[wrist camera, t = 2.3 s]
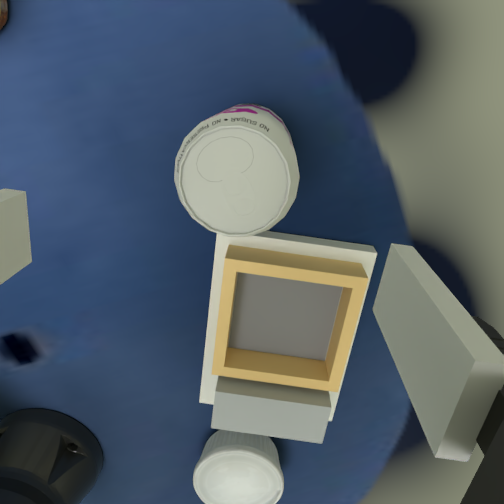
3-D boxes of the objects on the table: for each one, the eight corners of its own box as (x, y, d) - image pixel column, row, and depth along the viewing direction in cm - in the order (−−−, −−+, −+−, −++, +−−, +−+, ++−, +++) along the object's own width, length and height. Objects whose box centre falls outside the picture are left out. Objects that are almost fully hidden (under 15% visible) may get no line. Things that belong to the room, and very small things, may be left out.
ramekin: (247, 491, 57) (244, 529, 52) (183, 451, 55) (173, 487, 50) (301, 447, 53) (303, 484, 49) (234, 402, 51) (229, 436, 46)
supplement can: (192, 124, 39) (145, 146, 25) (273, 88, 37) (272, 91, 23) (226, 201, 41) (201, 261, 27) (303, 172, 40) (318, 219, 26)
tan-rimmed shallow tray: (329, 408, 51) (337, 456, 44) (202, 390, 51) (191, 435, 44) (372, 245, 42) (390, 275, 36) (219, 224, 42) (209, 249, 36)
